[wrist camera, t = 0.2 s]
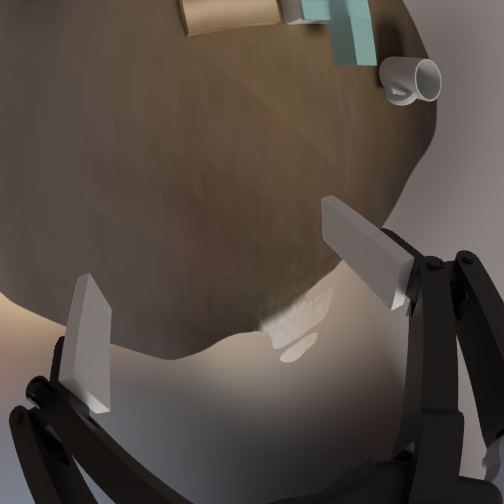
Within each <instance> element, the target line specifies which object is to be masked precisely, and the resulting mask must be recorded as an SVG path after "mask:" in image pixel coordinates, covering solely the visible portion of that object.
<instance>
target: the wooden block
mask: <svg viewBox="0 0 504 504" xmlns="http://www.w3.org/2000/svg"><path fill="white" fill-rule="evenodd" d="M179 5H180V9H181V14H182V19H183V24H184V28H185V33H186V37H191V36H195V35H200V34H206V33H211V32H217V31H223V30H230V29H238V28H246V27H255V26H267V25H273V24H276V23H278V22H280V18H279V13H278V8H277V3H276V0H179Z"/></svg>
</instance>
